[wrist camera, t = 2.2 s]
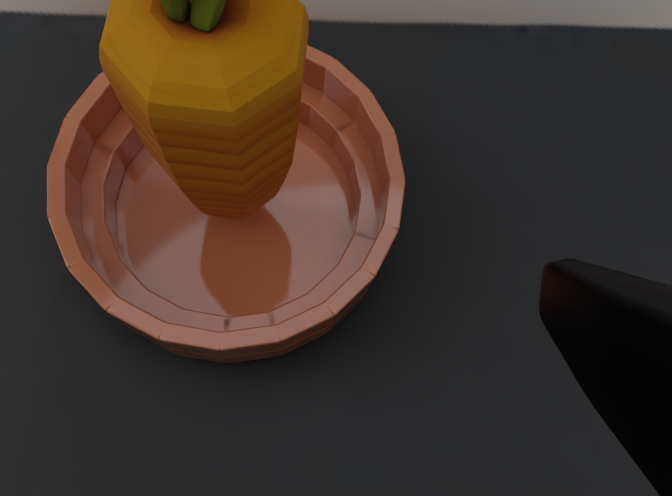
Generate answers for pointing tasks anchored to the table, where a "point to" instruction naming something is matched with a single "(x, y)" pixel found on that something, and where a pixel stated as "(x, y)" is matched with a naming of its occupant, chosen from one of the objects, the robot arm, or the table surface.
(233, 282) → the bowl
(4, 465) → the table surface
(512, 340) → the table surface
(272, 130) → the carrot
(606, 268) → the robot arm
